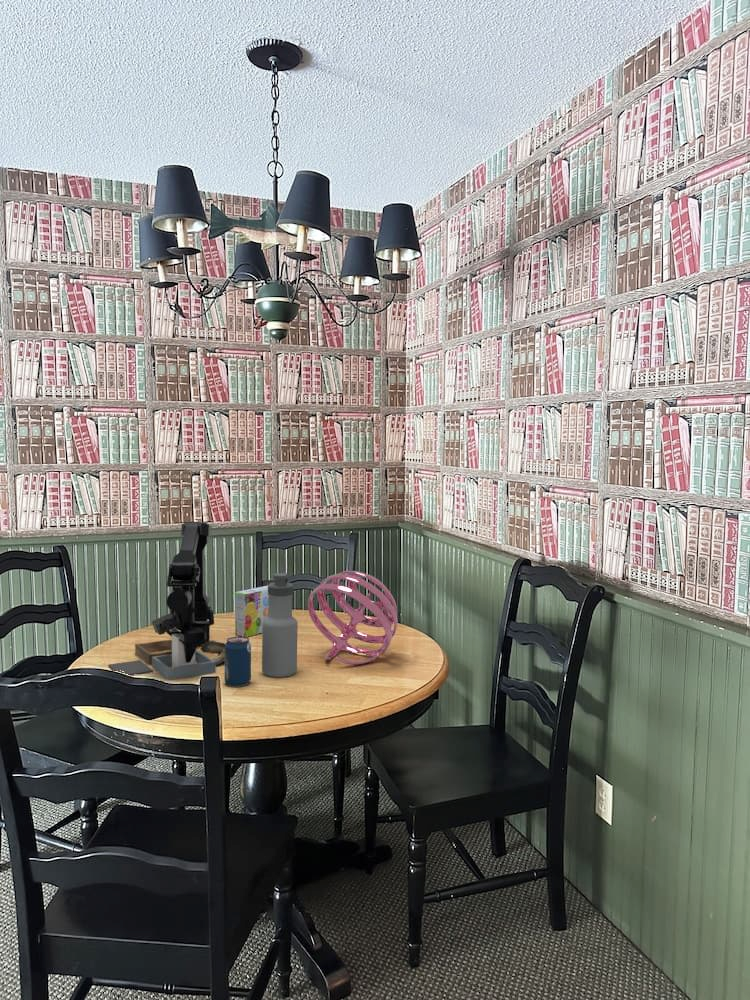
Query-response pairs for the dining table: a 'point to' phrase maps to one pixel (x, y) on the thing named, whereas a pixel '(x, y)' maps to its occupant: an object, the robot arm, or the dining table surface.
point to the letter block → (179, 652)
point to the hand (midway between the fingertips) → (183, 659)
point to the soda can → (237, 661)
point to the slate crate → (202, 667)
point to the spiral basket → (355, 614)
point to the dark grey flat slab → (131, 667)
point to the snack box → (251, 610)
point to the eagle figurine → (215, 650)
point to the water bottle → (279, 630)
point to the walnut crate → (152, 649)
